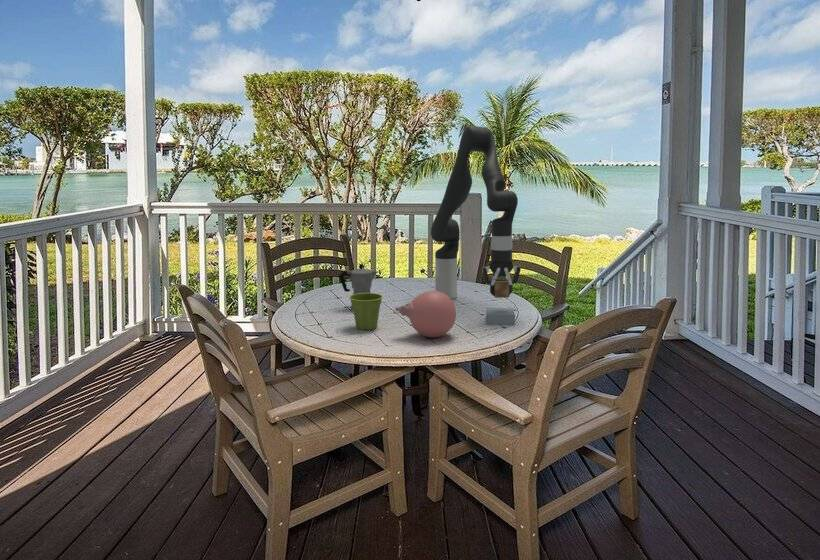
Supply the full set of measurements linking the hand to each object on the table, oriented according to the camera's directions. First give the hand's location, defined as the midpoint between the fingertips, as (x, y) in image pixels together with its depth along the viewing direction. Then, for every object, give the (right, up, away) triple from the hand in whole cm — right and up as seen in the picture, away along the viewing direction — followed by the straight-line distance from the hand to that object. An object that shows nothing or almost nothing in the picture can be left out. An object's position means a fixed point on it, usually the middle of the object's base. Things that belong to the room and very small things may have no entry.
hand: (500, 294), depth 212 cm
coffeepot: (-53, -6, +22) cm, 57 cm away
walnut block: (0, 0, 0) cm, 0 cm away
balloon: (-27, -14, -16) cm, 35 cm away
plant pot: (-48, -12, -5) cm, 49 cm away
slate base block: (0, -10, +2) cm, 10 cm away
